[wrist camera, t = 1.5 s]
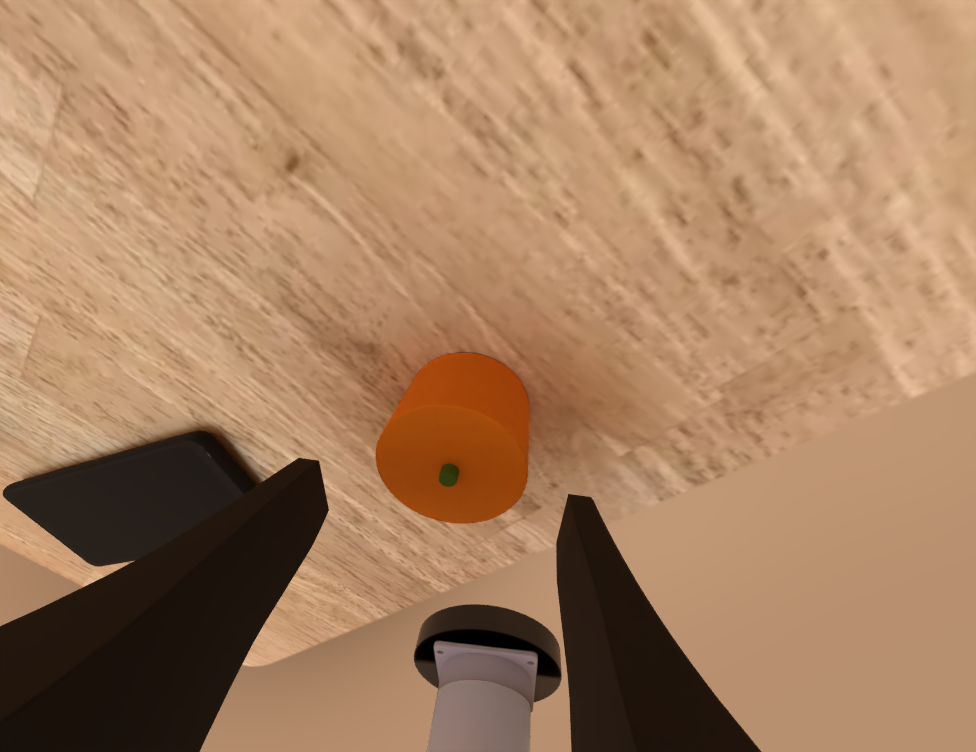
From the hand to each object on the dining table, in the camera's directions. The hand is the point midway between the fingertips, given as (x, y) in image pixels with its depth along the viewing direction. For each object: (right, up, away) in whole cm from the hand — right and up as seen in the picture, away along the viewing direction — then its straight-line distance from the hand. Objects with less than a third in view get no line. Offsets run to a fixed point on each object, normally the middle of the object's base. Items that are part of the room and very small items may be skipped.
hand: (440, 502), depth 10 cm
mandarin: (+1, +2, +4) cm, 5 cm away
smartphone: (-17, -3, +10) cm, 20 cm away
